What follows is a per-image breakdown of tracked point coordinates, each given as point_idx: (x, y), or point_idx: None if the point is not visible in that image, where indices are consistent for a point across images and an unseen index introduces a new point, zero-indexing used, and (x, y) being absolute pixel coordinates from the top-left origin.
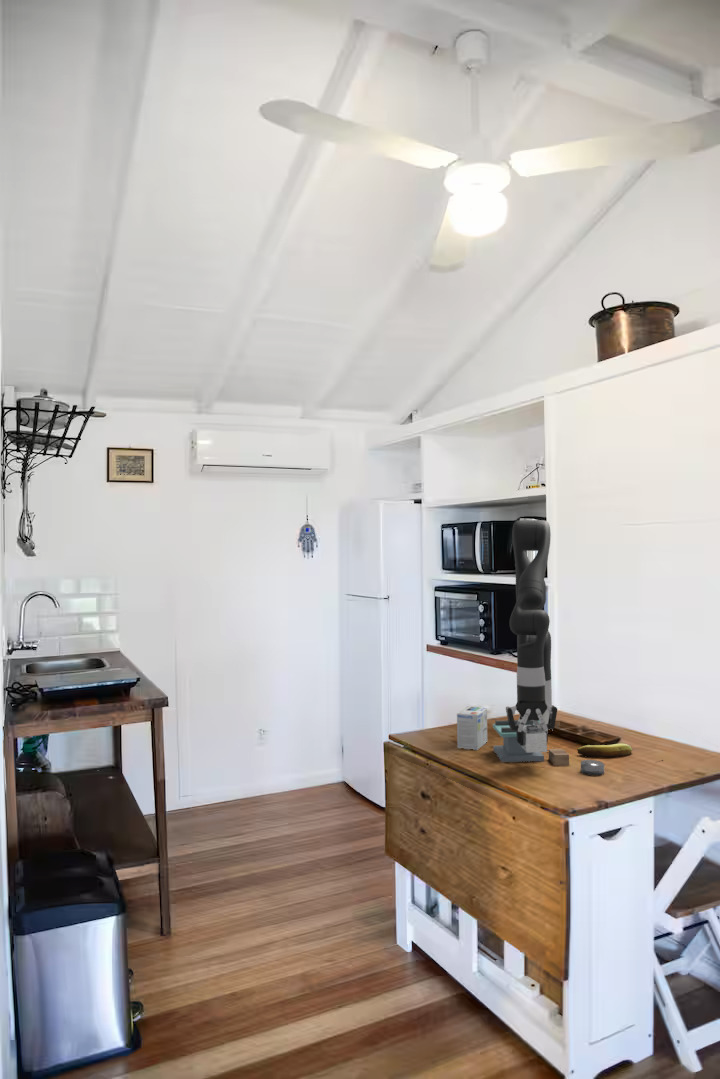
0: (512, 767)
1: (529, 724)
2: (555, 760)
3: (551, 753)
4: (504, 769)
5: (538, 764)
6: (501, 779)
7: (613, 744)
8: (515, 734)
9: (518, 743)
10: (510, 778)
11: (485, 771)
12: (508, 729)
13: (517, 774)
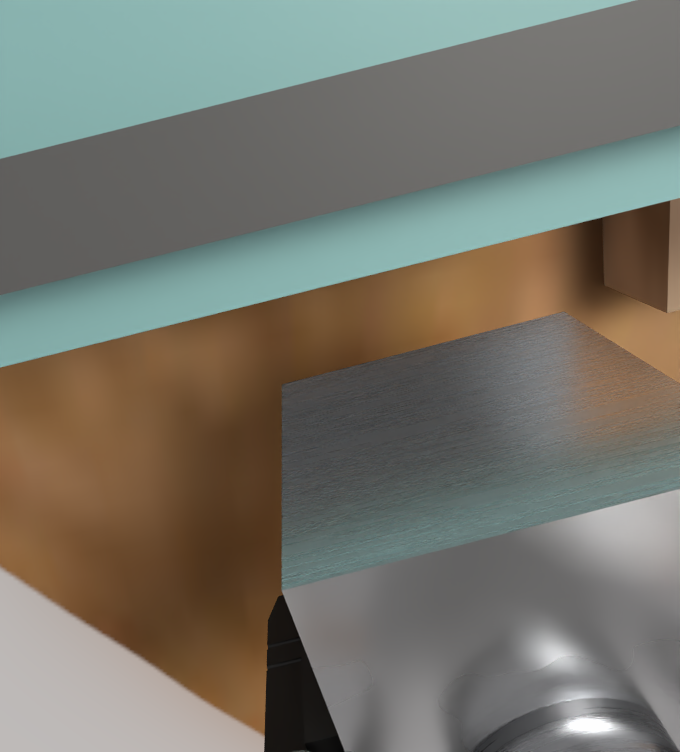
0: (231, 408)
1: None
2: (638, 295)
3: None
4: (171, 472)
5: (464, 277)
6: (184, 668)
7: None
8: (221, 306)
9: (284, 391)
10: (240, 641)
11: (29, 547)
12: (25, 280)
13: None
